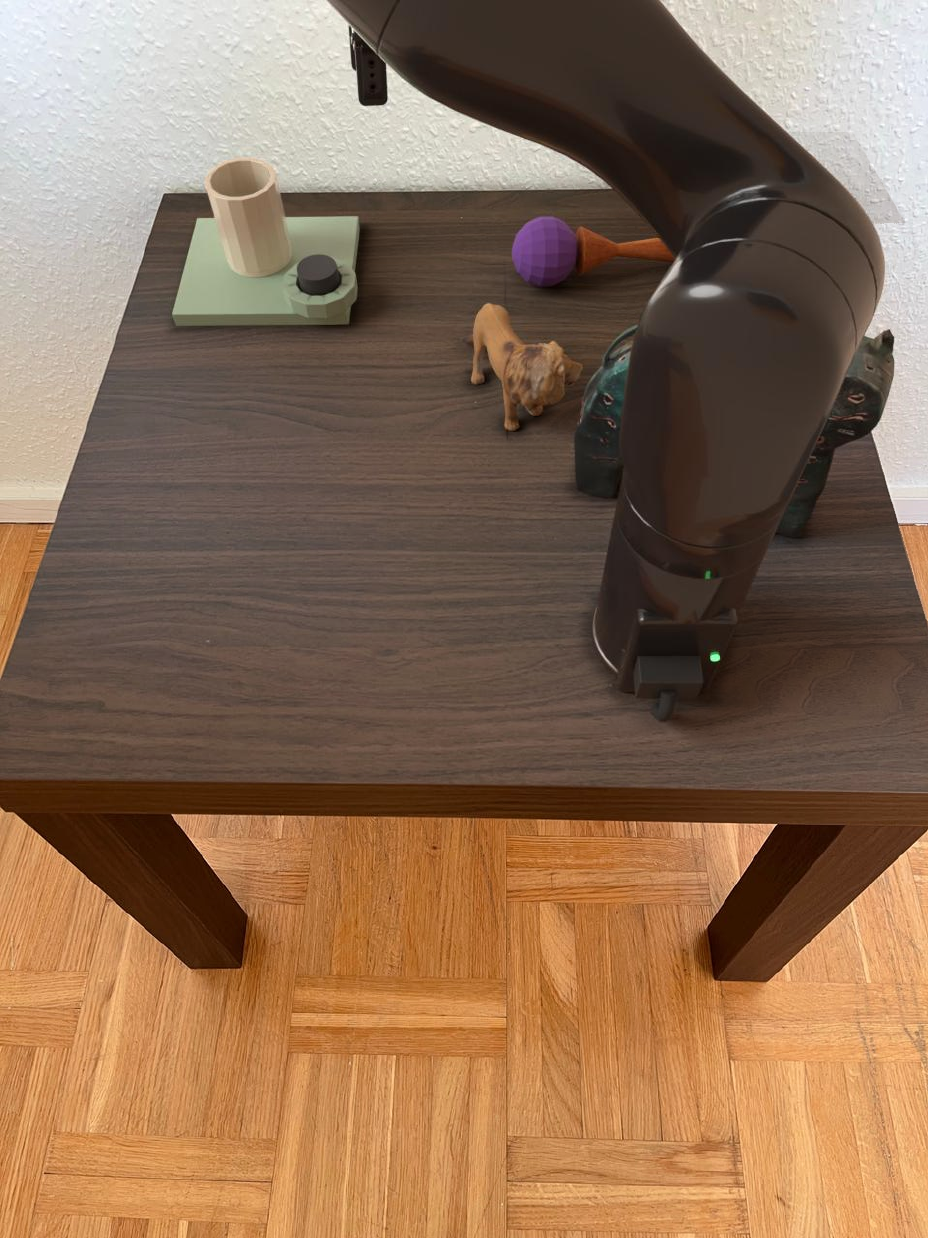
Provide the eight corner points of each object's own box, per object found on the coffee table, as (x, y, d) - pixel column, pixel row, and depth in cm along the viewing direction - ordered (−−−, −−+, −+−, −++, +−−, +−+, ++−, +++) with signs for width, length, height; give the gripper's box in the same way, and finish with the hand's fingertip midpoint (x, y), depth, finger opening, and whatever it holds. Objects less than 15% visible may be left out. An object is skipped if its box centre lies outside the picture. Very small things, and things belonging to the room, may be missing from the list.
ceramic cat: (825, 500, 72) (930, 291, 55) (817, 565, 69) (926, 365, 52) (579, 449, 75) (605, 237, 58) (560, 509, 72) (583, 303, 55)
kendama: (740, 248, 82) (521, 254, 80) (718, 294, 87) (512, 301, 85) (727, 197, 84) (513, 202, 82) (706, 245, 89) (505, 250, 87)
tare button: (337, 296, 82) (334, 280, 80) (297, 296, 82) (294, 280, 80) (341, 270, 84) (338, 253, 82) (302, 270, 84) (298, 253, 82)
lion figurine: (583, 432, 76) (594, 350, 68) (531, 460, 75) (536, 379, 67) (484, 332, 83) (484, 246, 75) (435, 356, 81) (430, 271, 74)
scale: (356, 330, 83) (352, 303, 81) (174, 332, 84) (164, 305, 81) (367, 228, 91) (363, 200, 88) (200, 230, 91) (192, 202, 89)
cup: (252, 286, 85) (232, 208, 78) (214, 256, 87) (190, 178, 80) (305, 256, 87) (289, 177, 80) (266, 227, 89) (247, 148, 82)
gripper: (421, -172, 56) (426, 115, 68) (398, -198, 66) (406, 57, 78) (298, -171, 55) (325, 119, 67) (293, -198, 65) (318, 60, 77)
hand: (369, 85), depth 72 cm, fingers open, 8 cm apart
